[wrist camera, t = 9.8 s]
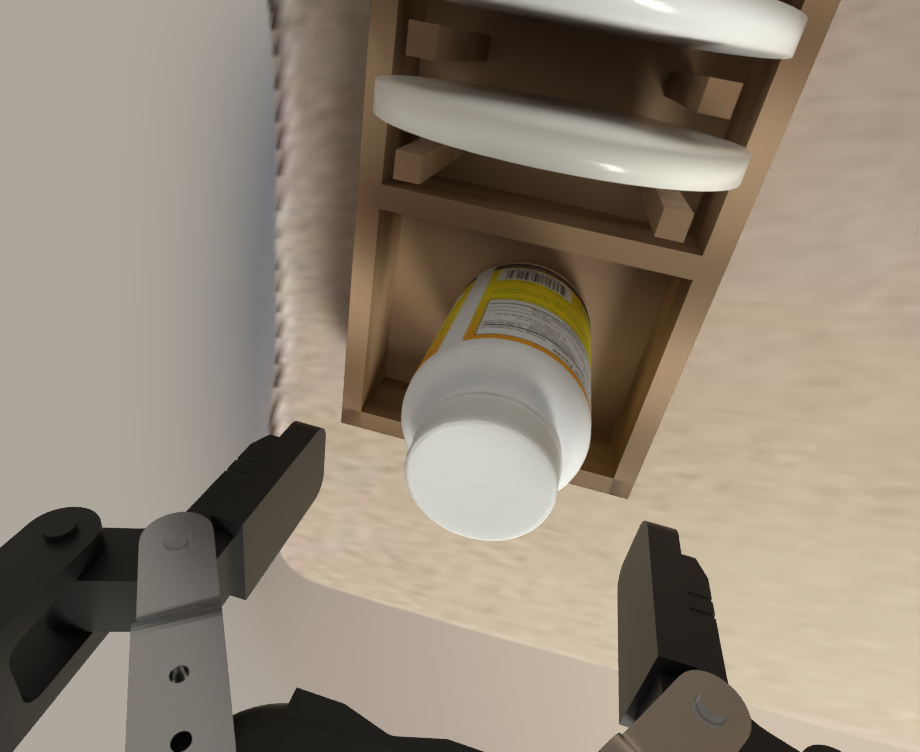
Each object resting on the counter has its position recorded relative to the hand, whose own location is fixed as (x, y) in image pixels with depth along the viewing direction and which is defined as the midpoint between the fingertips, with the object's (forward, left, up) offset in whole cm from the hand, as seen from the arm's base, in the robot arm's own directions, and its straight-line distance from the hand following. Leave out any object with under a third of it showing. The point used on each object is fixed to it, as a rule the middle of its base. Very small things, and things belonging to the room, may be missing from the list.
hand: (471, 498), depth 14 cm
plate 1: (-8, -8, -12) cm, 16 cm away
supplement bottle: (0, 0, -11) cm, 11 cm away
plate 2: (-6, -6, -12) cm, 14 cm away
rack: (-3, -3, -12) cm, 13 cm away
